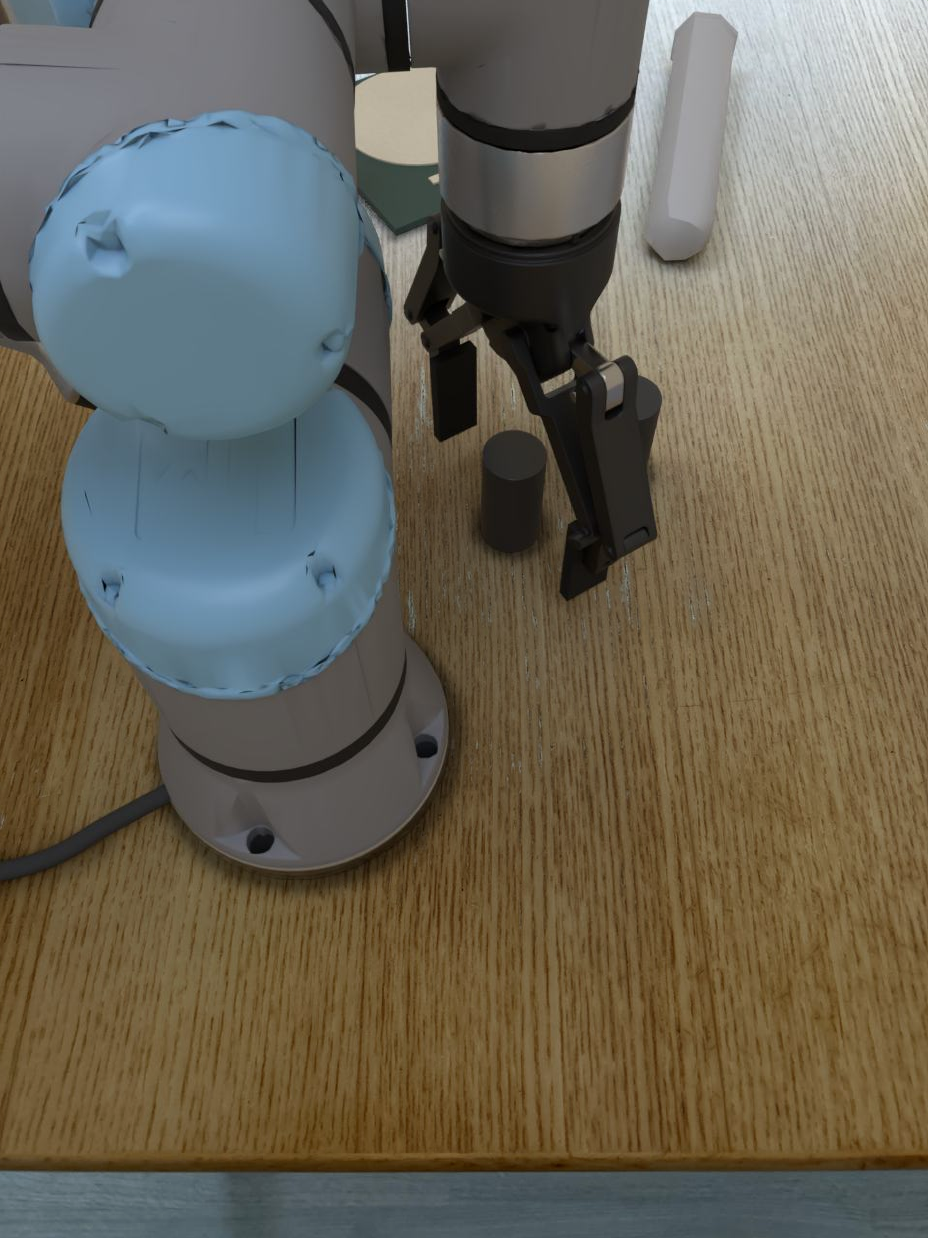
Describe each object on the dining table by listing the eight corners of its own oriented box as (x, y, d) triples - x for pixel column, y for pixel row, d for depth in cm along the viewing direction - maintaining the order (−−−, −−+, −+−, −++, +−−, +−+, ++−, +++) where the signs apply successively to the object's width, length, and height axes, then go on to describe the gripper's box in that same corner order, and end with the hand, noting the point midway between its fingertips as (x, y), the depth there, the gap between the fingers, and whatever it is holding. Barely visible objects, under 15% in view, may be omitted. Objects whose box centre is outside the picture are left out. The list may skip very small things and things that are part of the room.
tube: (729, 232, 69) (750, 27, 82) (660, 201, 69) (691, -1, 81) (691, 286, 74) (715, 84, 86) (625, 258, 73) (659, 59, 85)
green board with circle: (396, 235, 75) (395, 226, 75) (287, 112, 83) (285, 103, 83) (581, 158, 80) (582, 149, 79) (461, 48, 88) (461, 39, 87)
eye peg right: (609, 504, 63) (624, 429, 57) (576, 466, 64) (587, 389, 58) (655, 480, 64) (675, 403, 57) (621, 443, 65) (637, 364, 59)
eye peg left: (501, 562, 60) (505, 489, 54) (469, 520, 62) (469, 446, 56) (551, 535, 61) (559, 462, 55) (518, 495, 63) (523, 420, 57)
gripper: (806, 339, 37) (698, 628, 55) (450, 20, 48) (458, 350, 66) (642, 424, 35) (587, 694, 53) (309, 71, 46) (358, 396, 64)
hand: (516, 504), depth 60 cm, fingers open, 13 cm apart
